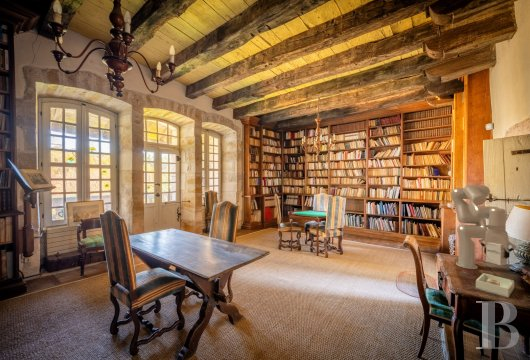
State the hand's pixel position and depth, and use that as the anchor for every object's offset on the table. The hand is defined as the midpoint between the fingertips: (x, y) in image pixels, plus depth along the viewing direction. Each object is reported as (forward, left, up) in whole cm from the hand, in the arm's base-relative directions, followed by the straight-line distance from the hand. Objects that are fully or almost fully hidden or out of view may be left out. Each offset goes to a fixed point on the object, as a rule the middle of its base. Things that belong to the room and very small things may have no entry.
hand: (496, 256), depth 145 cm
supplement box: (0, 0, -4) cm, 4 cm away
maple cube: (+8, 0, -18) cm, 20 cm away
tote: (+4, 0, -19) cm, 20 cm away
